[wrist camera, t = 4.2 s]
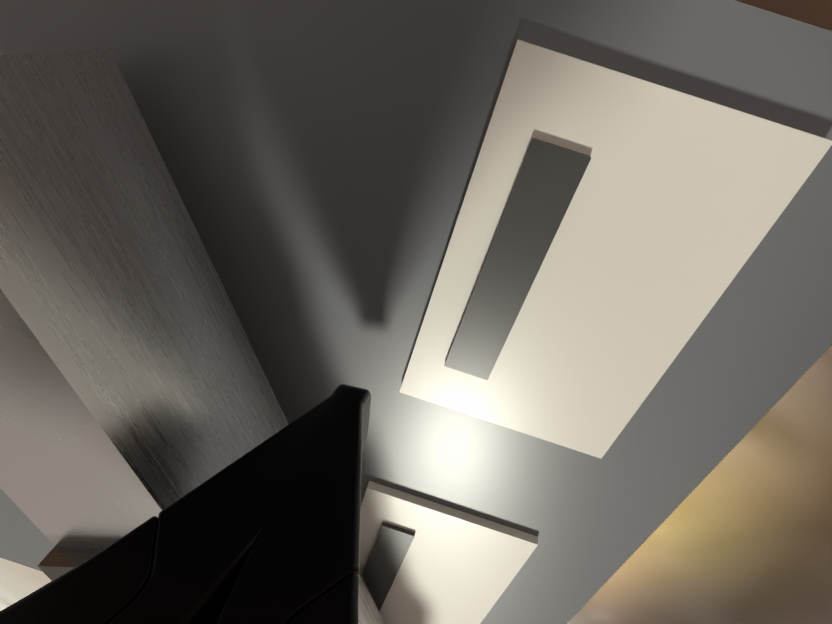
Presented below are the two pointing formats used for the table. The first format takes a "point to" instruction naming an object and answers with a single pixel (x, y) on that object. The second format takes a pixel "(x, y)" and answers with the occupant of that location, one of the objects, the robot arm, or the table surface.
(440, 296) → the equipment panel
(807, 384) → the table surface
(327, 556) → the robot arm
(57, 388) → the cable arm
